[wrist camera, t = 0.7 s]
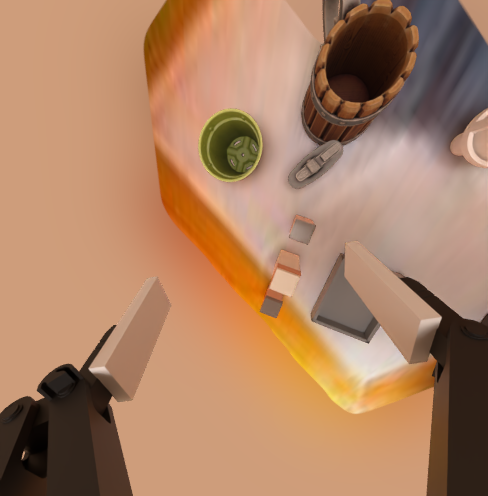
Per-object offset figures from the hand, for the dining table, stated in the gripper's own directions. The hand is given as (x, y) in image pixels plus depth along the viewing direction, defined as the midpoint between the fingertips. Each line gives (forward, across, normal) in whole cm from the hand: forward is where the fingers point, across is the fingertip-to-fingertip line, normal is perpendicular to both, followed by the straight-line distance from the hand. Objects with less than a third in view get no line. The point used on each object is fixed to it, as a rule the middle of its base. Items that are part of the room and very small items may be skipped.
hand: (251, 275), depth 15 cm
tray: (+19, -17, +22) cm, 33 cm away
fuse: (+23, -6, +14) cm, 28 cm away
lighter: (+26, -12, -1) cm, 28 cm away
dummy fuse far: (+22, -2, +21) cm, 31 cm away
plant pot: (+29, -1, -6) cm, 30 cm away
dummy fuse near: (+24, -9, +8) cm, 27 cm away
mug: (+27, -16, -12) cm, 34 cm away
